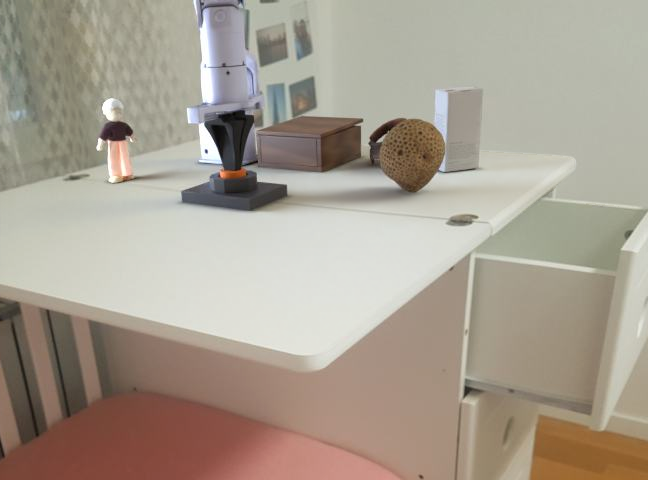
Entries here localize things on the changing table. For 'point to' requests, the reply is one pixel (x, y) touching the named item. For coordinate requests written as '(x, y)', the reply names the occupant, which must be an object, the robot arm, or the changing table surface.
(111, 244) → the changing table surface
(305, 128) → the lid
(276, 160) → the chest
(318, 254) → the changing table surface
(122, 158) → the grandmother figurine
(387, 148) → the natural sponge
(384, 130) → the pottery mug
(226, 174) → the button
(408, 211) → the changing table surface
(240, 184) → the switch block
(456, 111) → the cosmetic box
